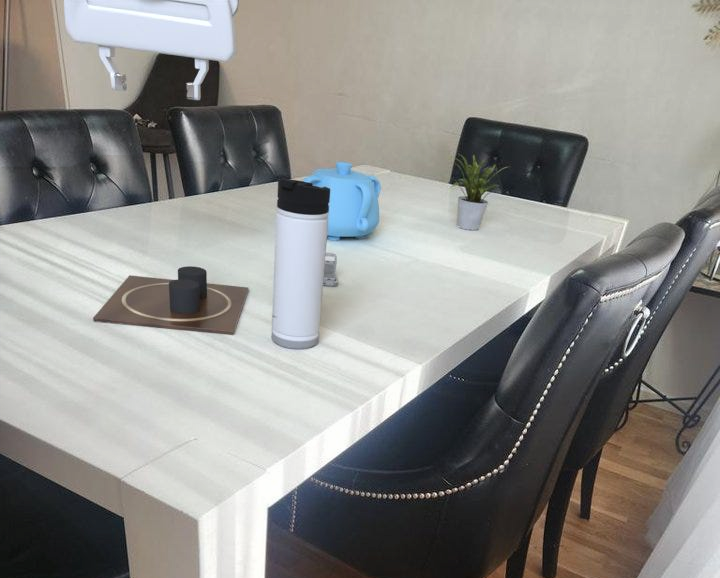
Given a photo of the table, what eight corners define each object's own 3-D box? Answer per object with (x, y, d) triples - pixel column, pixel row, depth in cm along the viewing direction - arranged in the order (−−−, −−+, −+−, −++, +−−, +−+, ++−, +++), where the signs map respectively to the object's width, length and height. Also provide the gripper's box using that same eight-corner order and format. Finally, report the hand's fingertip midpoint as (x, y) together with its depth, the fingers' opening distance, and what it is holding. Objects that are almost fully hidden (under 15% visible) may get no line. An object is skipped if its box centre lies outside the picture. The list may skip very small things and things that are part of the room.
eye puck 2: (173, 302, 91) (172, 277, 89) (202, 305, 91) (201, 280, 89) (167, 312, 88) (165, 287, 86) (197, 315, 88) (196, 290, 86)
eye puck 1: (181, 288, 96) (180, 265, 94) (209, 291, 96) (208, 267, 94) (176, 297, 92) (175, 273, 91) (204, 300, 93) (204, 276, 91)
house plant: (421, 220, 154) (433, 144, 145) (458, 217, 163) (472, 145, 154) (466, 236, 146) (481, 157, 137) (503, 231, 154) (520, 156, 145)
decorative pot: (363, 250, 127) (373, 175, 120) (287, 234, 130) (291, 160, 122) (383, 233, 141) (393, 164, 133) (314, 219, 143) (319, 151, 136)
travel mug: (259, 339, 85) (264, 175, 74) (291, 327, 90) (300, 171, 79) (297, 354, 83) (307, 186, 71) (327, 341, 87) (342, 181, 76)
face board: (93, 321, 84) (92, 316, 83) (129, 278, 99) (129, 274, 98) (233, 334, 85) (233, 330, 85) (248, 290, 100) (248, 286, 100)
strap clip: (338, 287, 106) (341, 261, 104) (320, 286, 106) (322, 260, 103) (332, 271, 113) (334, 246, 111) (314, 270, 113) (316, 245, 110)
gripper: (242, -27, 79) (240, 102, 87) (69, -52, 77) (84, 83, 85) (235, -31, 74) (234, 107, 82) (50, -58, 72) (68, 86, 80)
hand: (156, 94), depth 83 cm, fingers open, 8 cm apart
